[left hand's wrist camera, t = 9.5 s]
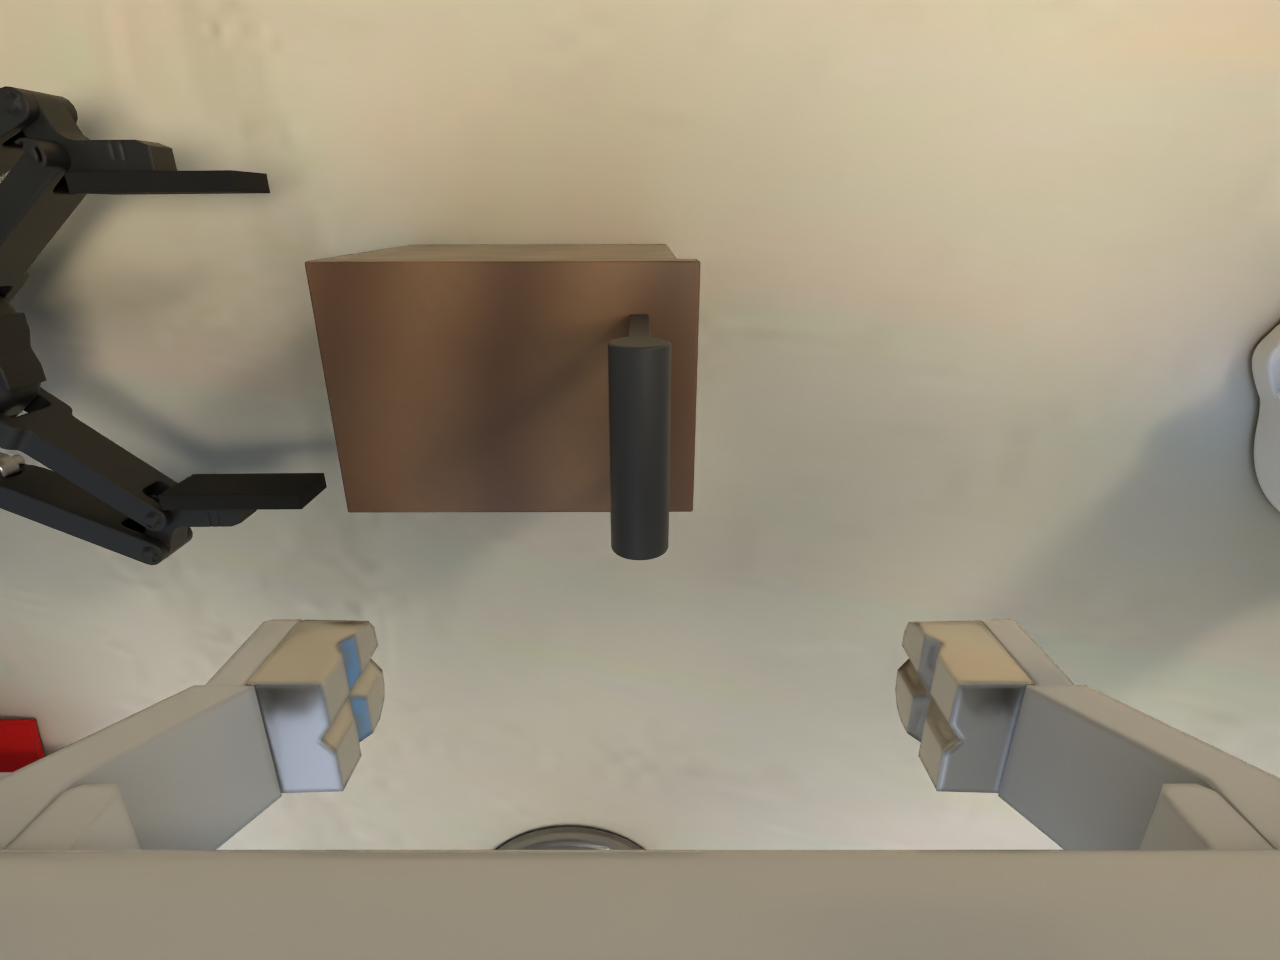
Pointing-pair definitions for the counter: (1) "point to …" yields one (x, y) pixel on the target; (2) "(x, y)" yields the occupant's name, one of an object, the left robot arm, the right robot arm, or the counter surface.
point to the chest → (516, 252)
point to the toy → (18, 745)
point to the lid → (514, 386)
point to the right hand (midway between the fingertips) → (286, 349)
